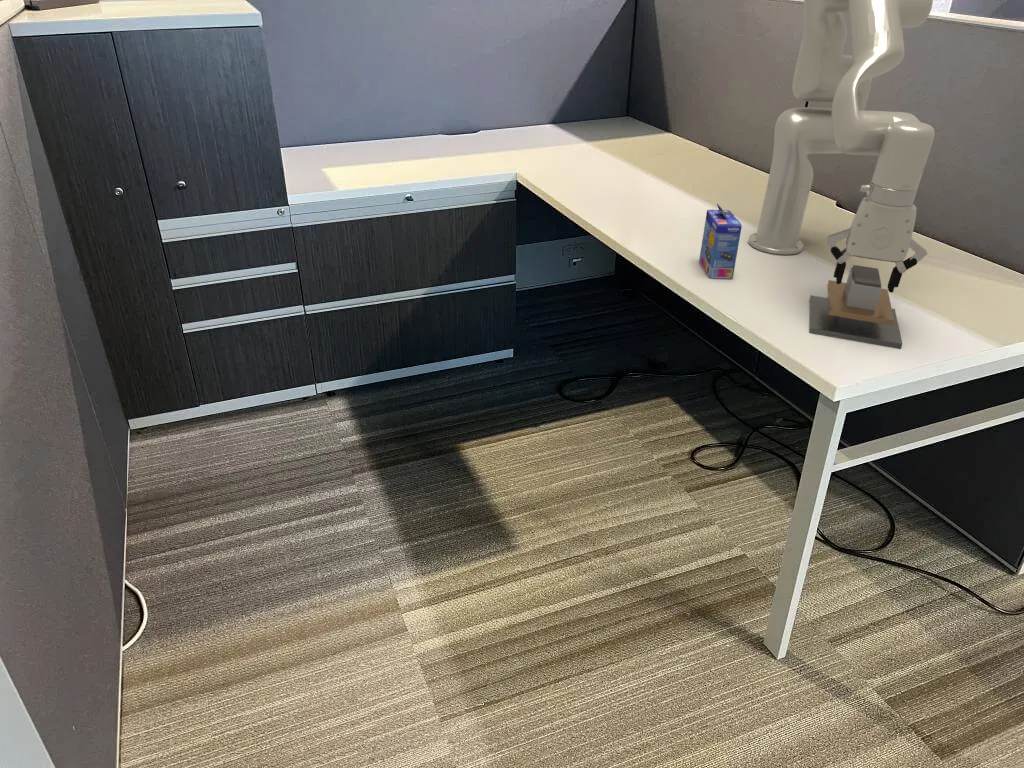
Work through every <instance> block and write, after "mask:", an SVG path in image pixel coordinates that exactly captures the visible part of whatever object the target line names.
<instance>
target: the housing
mask: <svg viewBox="0 0 1024 768" xmlns="http://www.w3.org/2000/svg"><path fill="white" fill-rule="evenodd" d="M846 279H847V280H846V282H845V283H846V286H845V295H846V306H850V307H856V308H862V309H868V310H874V311H875V309H876V306H877V303H878V300H879V297H880V294H881V291H882V289H883V287H882V286H883V285H882V282H881V277H880V270H879V268H877V267H870V266H863V265H858V264H857V265H856V264H853V265H852V266H851V267H850V270H849V273H848V276H847V278H846Z"/></svg>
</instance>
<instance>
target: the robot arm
mask: <svg viewBox="0 0 1024 768" xmlns="http://www.w3.org/2000/svg"><path fill="white" fill-rule="evenodd" d="M933 3H934V0H803V17H804V18H803V19H804V20H803V21H804V24H803V25H804V27H803V28H804V29H803V34H802V38H801V43H800V48H799V52H798V57H797V61H796V64H795V68H794V69H795V70H794V74H793V78H792V89H791V90H792V93H793V96H794V97H795V98H796V99H797V100H799V101H803V102H811V103H812V102H813V103H832V107H831V108H830V107H828V108H827V107H826V108H825V107H807V106H806V107H805V106H801V107H792V108H788V109H786V110H785V111H783V112H782V113H781V114H779V116H778V117H777V119H776V121H775V127H774V137H773V138H774V139H773V140H774V141H773V151H772V158H771V159H772V160H771V165H770V170H769V175H768V179H767V185H766V188H765V189H766V190H765V193H764V199H763V202H762V206H761V207H762V208H761V211H760V217H759V220H758V227H757V230H756V232H754V233H752V234H750V235H749V236H748V240H747V241H748V243H749V245H750V246H751V247H752V248H754V249H757V250H759V251H761V252H764V253H769V254H775V255H784V256H785V255H796V254H799V253H801V252H802V251H803V249H804V242H802V241H801V240H800V239H799V237H800V232H801V229H802V225H803V220H804V217H805V213H806V208H807V205H808V201H809V196H810V193H811V188H812V184H813V180H814V169H813V166H812V163H811V162H810V160H809V157H808V155H811V154H826V155H827V154H828V155H830V154H831V155H832V154H833V155H834V154H836V155H837V154H839V155H840V154H847V155H852V156H853V155H854V156H855V155H856V156H878V158H877V161H876V165H875V169H874V172H873V176H872V180H871V181H870V182H869V183H868V184H861V186H860V190H859V193H863V194H865V195H866V196H865V197H863V198H862V199H861V201H860V203H859V205H858V206H857V207H858V208H857V210H856V213H855V215H854V216H853V218H852V219H853V220H852V222H851V225H850V227H849V228H847V229H842V230H841V231H838V232H835V233H832V234H829V235H828V236H827V237H826V242H827V244H828V247H829V250H830V253H831V254H832V256H833V257H834V258H835V260H836V261H837V262H836V265H835V269H834V273H833V278H835V281H836V283H837V284H841V282H843V277H844V273H845V272H846V271H845V270H846V267H847V262H846V261H848V260H849V259H850V258H852V257H854V258H855V257H856V258H860V259H861V258H862V259H868V260H874V261H875V260H876V261H880V262H888V263H889V262H890V263H894V264H895V266H894V267H892V271H891V273H890V277H889V281H888V283H887V289H888V293H892V294H893V293H894V291H895V288H898V287H899V285H900V283H901V280H902V276H903V274H904V273H906V271H908V270H909V269H911V268H913V267H915V266H916V265H917V264H918V262H921V261H922V259H924V258H925V257H926V256H927V254H928V251H927V249H926V248H925V247H923V246H922V244H921V245H920V244H919V243H918V242H917V241H916V240H914V239H913V238H912V236H913V232H914V228H915V224H916V217H917V206H916V205H915V204H914V201H915V198H916V195H917V192H918V188H919V186H920V182H921V180H922V177H923V173H924V170H925V167H926V164H927V161H928V157H929V155H930V153H931V148H932V145H933V144H934V143H933V142H934V139H935V134H936V133H935V128H934V127H933V126H932V125H930V124H927V123H925V122H921V121H920V120H919V118H918V117H916V116H915V115H914V114H912V113H910V112H903V111H887V110H886V111H885V110H865V109H866V105H867V102H868V99H869V95H870V94H869V93H870V91H871V87H872V81H873V78H877V77H879V76H882V75H884V74H886V73H888V72H889V71H891V70H893V69H895V68H896V67H897V66H898V65H900V63H901V62H902V61H903V59H904V57H905V53H906V52H905V51H906V50H905V49H906V48H905V42H904V31H903V29H914V28H917V27H919V26H921V25H923V24H924V23H925V22H926V20H927V19H928V18H929V16H930V14H931V11H932V9H933ZM842 13H848V19H849V30H850V42H851V53H852V54H849V55H848V54H843V53H844V46H845V44H846V40H847V34H848V32H847V25H846V22H845V19H844V16H843V14H842ZM841 240H846V241H845V242H846V243H845V245H846V246H845V248H843V249H842V250H840V248H839V247H838V245H837V242H839V241H841ZM909 249H910V250H912V251H914V254H913V255H912V256H910V257H908V258H907V259H906V257H907V254H908V252H909Z"/></svg>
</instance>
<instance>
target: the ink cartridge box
mask: <svg viewBox="0 0 1024 768" xmlns="http://www.w3.org/2000/svg"><path fill="white" fill-rule="evenodd" d="M716 205H717V208H718V209H706V216H705V222H704V227H703V234H702V241H701V247H700V253H699V258H698V262H699V264H700V265H701V267H702V269H703V271H704V272H705V274H706V276H707V278H709V279H728V280H731V279H733V278H734V274H735V268H736V263H737V262H736V261H737V256H738V251H739V245H740V238H741V234H742V233H741V232H742V228H743V227H742V226H743V225H742V223H741V222H740V221H739V219H737V218H736V217H735V214H733V212H732V211H731V210H729V209H723V208H722V206H720V204H719V203H716Z"/></svg>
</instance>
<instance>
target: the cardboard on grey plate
mask: <svg viewBox="0 0 1024 768" xmlns="http://www.w3.org/2000/svg"><path fill="white" fill-rule="evenodd" d="M826 286H827V287H826V288H827V297H824V296H823V297H822V296H817V295H812V294H811V295H810V297H809V302H808V303H809V305H808V307H809V308H808V309H809V313H808V315H809V317H808V318H809V320H808V321H809V323H808V324H809V326H808V331H809V334H815V335H821V336H824V337H831V338H837V339H844V340H849V341H854V342H861V343H866V344H872V345H876V346H883V347H888V348H894V349H899V350H901V349H902V347H903V339H902V334H901V331H900V326H899V321H898V318H897V317H898V316H897V313H896V309H895V308H892V303H891V299H890V295H889V294H890V293H889V291H888V288H882V291H881V294H880V297H879V300H878V303H877V306H876V309H875V311H874V310H868V309H862V308H856V307H850V306H846V295H845V286H846V282H843V281H841V284H837V283H836V280H831V279H828V281H827V285H826Z"/></svg>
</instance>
